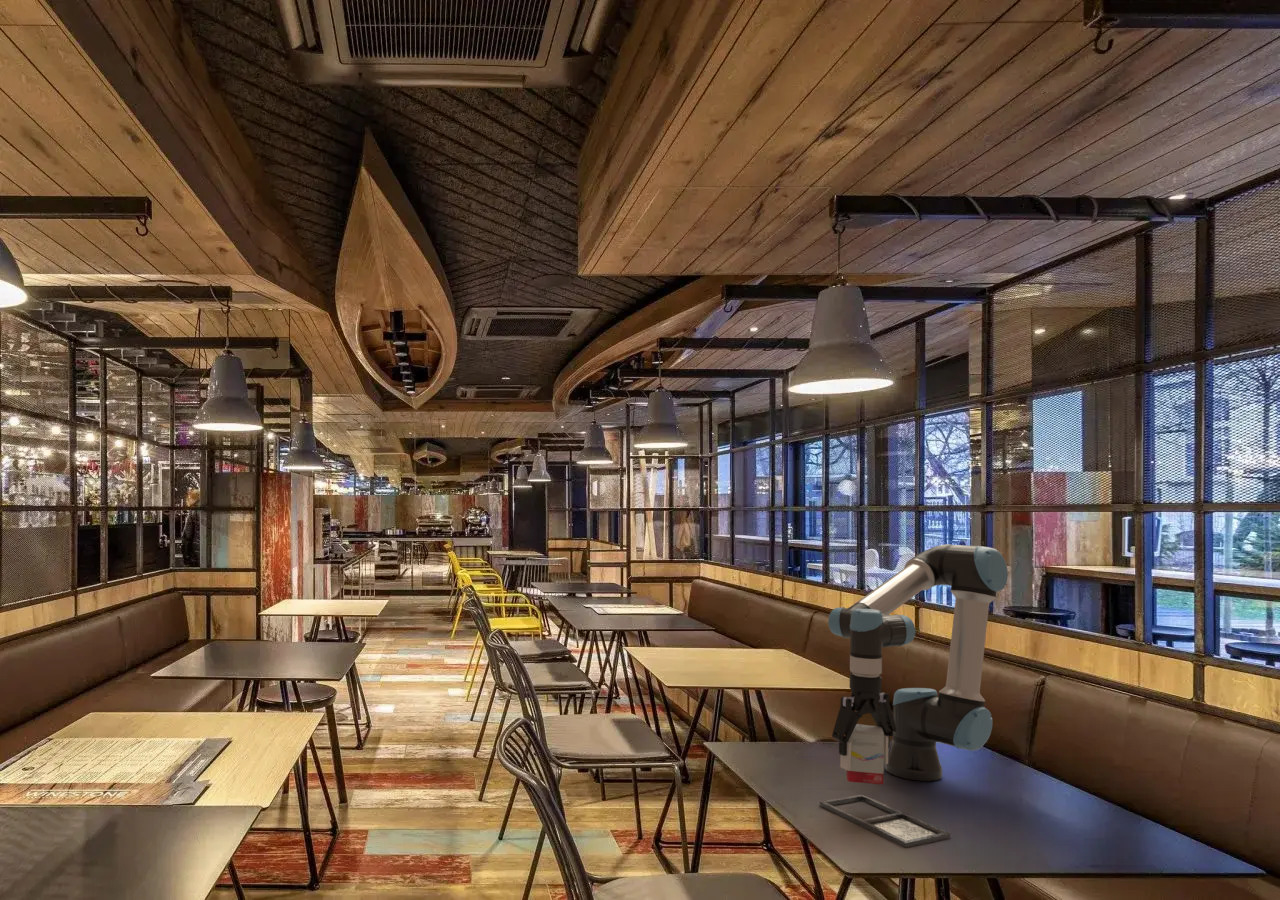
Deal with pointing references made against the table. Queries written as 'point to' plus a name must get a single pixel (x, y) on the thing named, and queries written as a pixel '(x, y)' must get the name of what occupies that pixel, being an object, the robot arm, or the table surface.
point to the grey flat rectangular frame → (890, 823)
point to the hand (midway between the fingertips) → (864, 765)
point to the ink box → (866, 755)
